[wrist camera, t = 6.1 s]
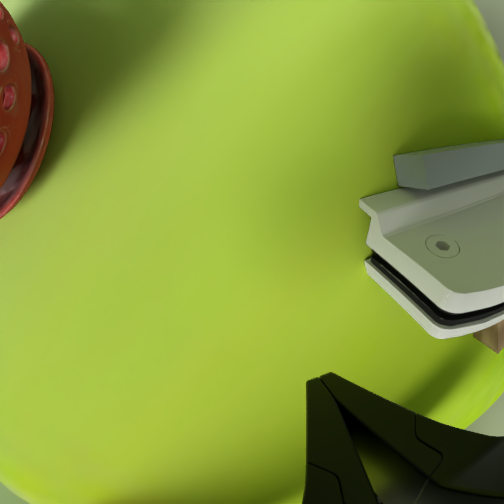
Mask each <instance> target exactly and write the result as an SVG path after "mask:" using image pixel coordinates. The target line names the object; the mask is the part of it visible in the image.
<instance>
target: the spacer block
mask: <svg viewBox="0 0 504 504" xmlns="http://www.w3.org/2000/svg"><path fill="white" fill-rule="evenodd" d="M473 336H474V338H476V339H477V340H479V341H480V342H482V343H483V344H484V345H486V346H487V347H489V348H490V349H492V350H493V351H494V352H496V353H497V354H498V353H499V352H500V351H501V350H502V349H503V347H504V320H502V321H500V322H498V323H496V324H494V325H492V326H490V327H487V328H485V329H482V330H480V331H477V332H473Z"/></svg>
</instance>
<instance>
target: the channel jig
mask: <svg viewBox="0 0 504 504" xmlns="http://www.w3.org/2000/svg"><path fill="white" fill-rule="evenodd" d="M393 159H394V164H395V170H396V176H397V182H398V186H403V187H411V188H418V189H425V190H429V189H433V188H437V187H440V186H444V185H448V184H452V183H455V182H459V181H463V180H466V179H470V178H474V177H478V176H481V175H485V174H489V173H493V172H497V171H500V170H504V139H501V140H492V141H484V142H476V143H468V144H461V145H454V146H447V147H441V148H434V149H428V150H422V151H416V152H410V153H405V154H399V155H394V156H393Z"/></svg>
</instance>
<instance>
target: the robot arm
mask: <svg viewBox="0 0 504 504" xmlns="http://www.w3.org/2000/svg"><path fill="white" fill-rule="evenodd" d="M302 504H504V436H502V437H496V436H488V435H483V434H479V433H475V432H471V431H467V430H463V429H459V428H455V427H452V426H449V425H446V424H442V423H439V422H437V421H434V420H432V419H429V418H427V417H424V416H422V415H420V414H416V413H415V412H413V411H411V410H408V409H406V408H404V407H402V406H400V405H398V404H395V403H393V402H391V401H389V400H387V399H385V398H383V397H381V396H378V395H376V394H374V393H372V392H370V391H368V390H366V389H364V388H362V387H360V386H358V385H356V384H354V383H352V382H350V381H348V380H346V379H344V378H342V377H340V376H338V375H336V374H335V373H332V372H329V373H326V374H324V375H321V376H320V377H319V378H318V377H316V378H313V379H310V380H308V381H307V382H306V476H305V488H304V495H303V500H302Z"/></svg>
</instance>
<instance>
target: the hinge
mask: <svg viewBox="0 0 504 504" xmlns="http://www.w3.org/2000/svg"><path fill="white" fill-rule="evenodd" d="M359 207H360V208H361V209H362V210H363V211H365V212H366V213H367V214H368V215H369V216H370V217H371V222H370V227H369V232H368V236H367V240H366V244H367V245H368V246H369V247H370V248H372V251H373V252H374V253H375V254H376V255H373V256H371V258H370V259H367V260H365V267H366V271H367V273H368V275H369V276H370V277H371V278H372V279H373V280H375V281H376V282H377V283H378V284H379V285H380V286H381V287H382V288H383V289H384V290H385V291H386V292H387V293H388V294H389V295H390V296H391V297H392V298H393V299H394V300H395V301H397V302H398V303H399V304H400V305H401V306H402V307H403V308H404V309H405V310H406V311H407V312H408V313H409V314H410V315H411V316H412V317H413V318H414V319H415V320H416V321H417V322H418V323H419V324H420V325H421V326H422V327H423V328H424V329H425V330H426V331H427V332H428V333H429V334H430V335H431V336H433V337H435V338H438V339H447V338H452V337H458V336H463V335H466V334H470V333H473V332H477V331H480V330H482V329H485V328H487V327H490V326H492V325H494V324H496V323H498V322H500V321H502V320H504V170H500V171H497V172H493V173H489V174H485V175H481V176H478V177H474V178H470V179H466V180H463V181H459V182H455V183H452V184H448V185H444V186H440V187H437V188H433V189H429V190H425V189H418V188H411V187H403V188H399V189H396V190H392V191H388V192H384V193H380V194H376V195H372V196H369V197H365V198H361V199H359Z"/></svg>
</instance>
